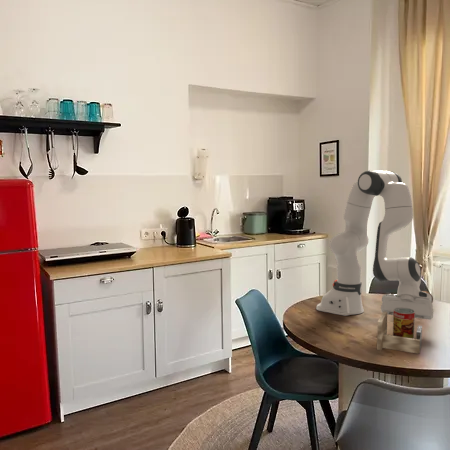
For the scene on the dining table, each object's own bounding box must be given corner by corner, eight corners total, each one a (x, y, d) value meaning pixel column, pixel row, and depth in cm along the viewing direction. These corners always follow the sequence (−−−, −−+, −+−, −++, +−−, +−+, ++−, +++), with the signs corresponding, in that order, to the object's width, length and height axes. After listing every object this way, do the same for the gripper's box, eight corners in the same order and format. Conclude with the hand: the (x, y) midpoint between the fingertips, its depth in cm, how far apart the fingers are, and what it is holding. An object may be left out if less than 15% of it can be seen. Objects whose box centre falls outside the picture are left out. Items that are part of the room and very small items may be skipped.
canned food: (389, 336, 180) (390, 307, 178) (407, 335, 180) (408, 306, 179) (398, 343, 172) (399, 313, 170) (417, 342, 172) (418, 312, 171)
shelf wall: (376, 349, 166) (377, 321, 165) (382, 337, 178) (383, 311, 177) (418, 356, 159) (419, 327, 158) (421, 343, 171) (422, 316, 170)
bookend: (415, 349, 165) (416, 331, 165) (417, 342, 172) (418, 325, 172) (419, 350, 165) (420, 332, 164) (421, 343, 172) (422, 325, 171)
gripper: (381, 289, 189) (377, 318, 182) (434, 294, 180) (432, 325, 173) (383, 297, 194) (379, 325, 186) (434, 302, 184) (432, 332, 177)
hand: (405, 325), depth 179 cm, fingers closed, pressing on canned food
